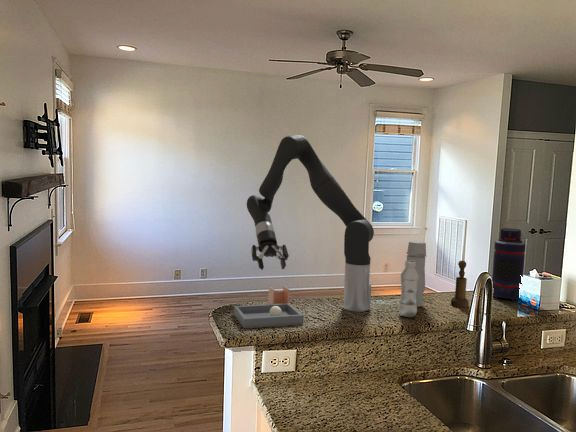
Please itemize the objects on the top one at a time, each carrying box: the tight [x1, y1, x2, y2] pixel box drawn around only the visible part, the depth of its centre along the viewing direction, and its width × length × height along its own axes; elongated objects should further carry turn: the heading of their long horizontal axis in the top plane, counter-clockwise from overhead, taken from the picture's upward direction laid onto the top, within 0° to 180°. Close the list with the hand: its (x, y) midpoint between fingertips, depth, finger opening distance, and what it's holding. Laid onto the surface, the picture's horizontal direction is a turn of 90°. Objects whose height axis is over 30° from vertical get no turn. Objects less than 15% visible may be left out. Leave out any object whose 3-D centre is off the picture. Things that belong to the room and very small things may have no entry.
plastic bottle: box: [397, 260, 419, 318], centre depth 165 cm, size 6×7×20 cm
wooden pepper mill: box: [450, 260, 470, 308], centre depth 183 cm, size 7×6×18 cm
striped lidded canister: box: [491, 227, 526, 302], centre depth 199 cm, size 14×12×30 cm
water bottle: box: [406, 240, 428, 308], centre depth 181 cm, size 9×8×25 cm
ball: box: [270, 306, 282, 316], centre depth 156 cm, size 4×4×4 cm
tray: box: [233, 302, 305, 329], centre depth 156 cm, size 20×15×3 cm
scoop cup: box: [268, 285, 290, 304], centre depth 171 cm, size 6×6×8 cm
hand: (273, 268), depth 178 cm, fingers open, 8 cm apart
